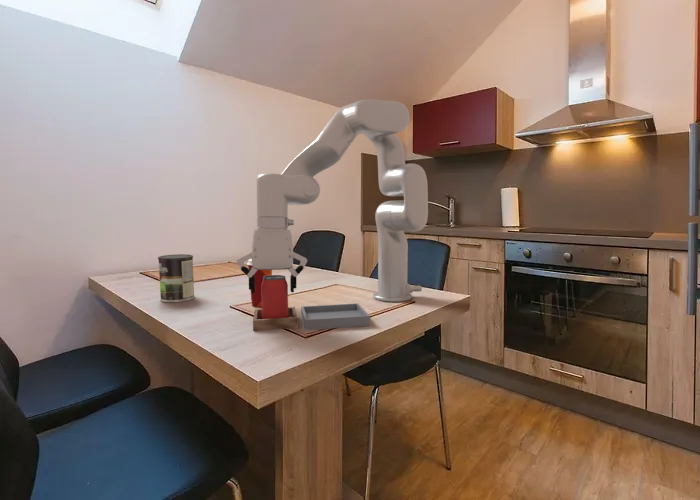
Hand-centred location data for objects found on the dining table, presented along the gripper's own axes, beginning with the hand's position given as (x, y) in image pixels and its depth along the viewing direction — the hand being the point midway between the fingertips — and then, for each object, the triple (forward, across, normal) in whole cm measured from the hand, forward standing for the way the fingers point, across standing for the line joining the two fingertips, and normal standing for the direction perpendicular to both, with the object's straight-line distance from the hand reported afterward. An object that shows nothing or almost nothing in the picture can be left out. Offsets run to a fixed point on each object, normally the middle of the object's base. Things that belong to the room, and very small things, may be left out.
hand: (272, 291), depth 95 cm
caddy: (+8, -1, 0) cm, 8 cm away
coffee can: (+9, +30, -34) cm, 47 cm away
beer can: (+8, -1, 0) cm, 8 cm away
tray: (+8, -16, +1) cm, 18 cm away
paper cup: (+8, +3, -20) cm, 22 cm away
